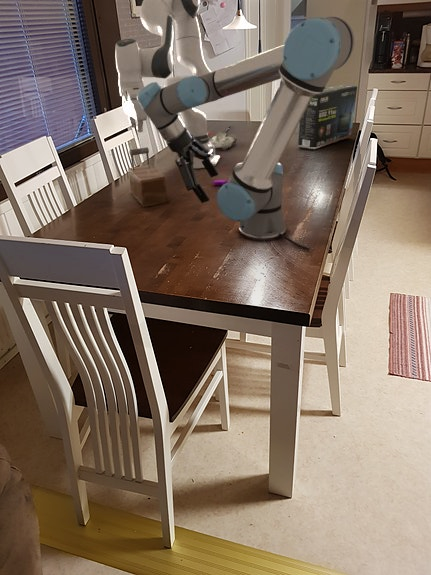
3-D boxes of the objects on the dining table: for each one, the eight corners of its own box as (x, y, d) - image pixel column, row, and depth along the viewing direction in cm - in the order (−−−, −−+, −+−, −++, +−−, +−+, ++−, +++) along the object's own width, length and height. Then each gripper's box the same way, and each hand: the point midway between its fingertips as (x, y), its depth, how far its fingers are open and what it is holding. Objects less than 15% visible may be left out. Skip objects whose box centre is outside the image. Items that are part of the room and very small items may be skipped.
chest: (131, 193, 187) (128, 171, 182) (154, 189, 190) (151, 167, 185) (143, 207, 173) (140, 183, 168) (167, 202, 176) (165, 179, 172)
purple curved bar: (213, 184, 193) (212, 179, 192) (230, 182, 194) (230, 177, 193) (223, 200, 176) (222, 195, 175) (242, 198, 177) (242, 193, 176)
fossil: (227, 144, 234) (207, 125, 237) (216, 161, 241) (197, 143, 244) (244, 142, 248) (225, 124, 251) (234, 158, 254) (215, 141, 258)
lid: (128, 170, 182) (125, 148, 178) (151, 167, 185) (148, 145, 181) (140, 183, 168) (137, 159, 164) (165, 178, 172) (163, 155, 167)
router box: (314, 151, 231) (318, 94, 217) (296, 148, 237) (299, 92, 224) (352, 138, 251) (358, 85, 238) (335, 135, 258) (340, 83, 245)
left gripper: (116, 87, 174) (121, 125, 181) (130, 94, 158) (135, 135, 165) (132, 86, 176) (137, 123, 183) (148, 92, 160) (152, 133, 167)
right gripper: (176, 117, 148) (209, 169, 160) (153, 162, 132) (191, 215, 145) (195, 108, 144) (227, 162, 156) (174, 153, 128) (211, 209, 141)
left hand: (136, 129), depth 174 cm, fingers open, 8 cm apart
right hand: (210, 188), depth 151 cm, fingers open, 13 cm apart
